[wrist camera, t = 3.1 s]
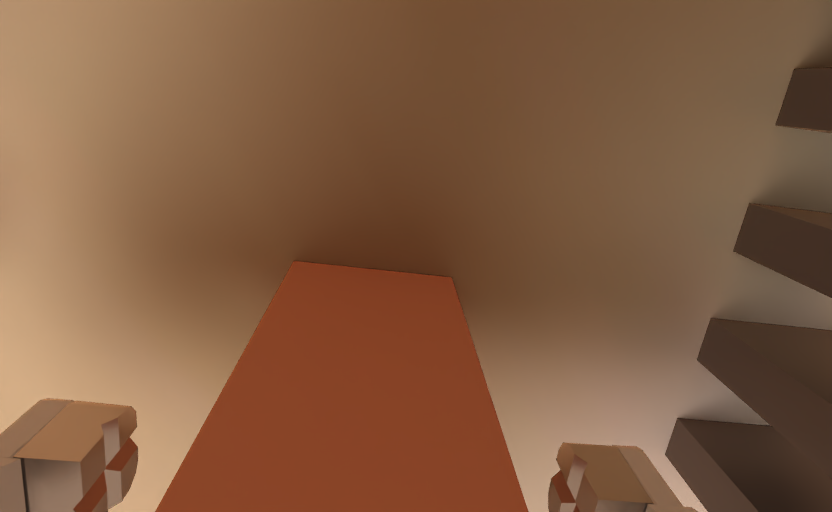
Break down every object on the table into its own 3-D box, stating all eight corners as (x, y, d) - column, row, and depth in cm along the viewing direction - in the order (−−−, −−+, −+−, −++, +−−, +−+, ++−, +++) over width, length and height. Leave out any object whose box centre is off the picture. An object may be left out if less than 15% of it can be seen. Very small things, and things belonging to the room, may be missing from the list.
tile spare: (293, 260, 16) (153, 515, 6) (451, 277, 16) (536, 538, 7) (291, 307, 16) (156, 607, 7) (444, 322, 17) (514, 624, 7)
